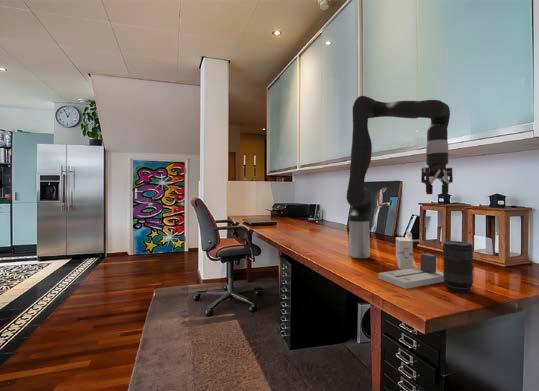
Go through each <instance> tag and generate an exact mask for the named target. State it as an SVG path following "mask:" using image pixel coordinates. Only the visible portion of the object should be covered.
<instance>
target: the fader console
mask: <svg viewBox="0 0 539 391" xmlns="http://www.w3.org/2000/svg"><path fill="white" fill-rule="evenodd" d="M378 279H379V280H381V281H384V282H387V283H389V284H392V285H394V286H397V287H399V288H401V289H412V288H418V287H423V286H428V285H434V284H439V283H444V277H443V271H442V272H441V271H439V270H436V272H434V273H428V272H425V271H421V266H419V267H413V268H410V269H403V270H402V269H397V270H392V271H391V270H389V271H383V272H378Z"/></svg>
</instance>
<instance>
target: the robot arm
mask: <svg viewBox="0 0 539 391" xmlns="http://www.w3.org/2000/svg"><path fill="white" fill-rule="evenodd" d="M450 110H451V109H450V107H449V105H448V104H447V103H446V102H444V101H441V100H439V99H425V100H398V101H393V102H386V101H385V102H384V101H379V100H376V99H373V98H371V97H369V96H366V95H360V96H358V97H357V98H356V99H355V100H354V102H353V104H352V135H351V136H352V137H351V138H352V139H351V140H352V141H351V149H350V150H351V152H350V167H349V170H350V171H349V179H348V186H347V191H346V201H347V203H348V205H349V206H350V207H352V210H351V213H350V214H349V215H348V217H349V219H348V221H349V222H348V224H349V225H348V226H349V228H348V229H349V231H348V232H349V235H348V240H347V242H348V252H347V253H348V256H349V257H350V258H353V259H354V258H356V259H368V258H370V257H371V256H370V248H371V247H370V216H371V214H372V195H371V194H372V193H371V192H370V191H369V189H368V188H366V187H365V179H366V175H367V172H368V170H369V168H370V165H371V160H372V153H373V146H372V145H373V143H372V139H371V136H370V133H369V125H368V124H369V122H368V121H369V119H374V118H381V117H382V118H385V117H386V118H387V117H389V118H398V119H399V118H400V119H419V118H422V119H430V125H429V127H428V128H427V130H426V131H427V132H426V148H425V153H426V155H425V158H426V161H425V162H426V167H421V176H420V177H421V181H420V182H421V184H424V185H425V192H426V193H425V194H426V195H433V183H434V181H435V180H438V181H440V182H441V194H442V195H448V194H449V185H450V184H451V183H453V182H454V181H453V178H454V177H453V167H447V165H448V164H449V142H448V139H449V138H448V136H449V135H448V133H449V132H448V127H449V123H450V118H451V117H450V115H451V111H450Z"/></svg>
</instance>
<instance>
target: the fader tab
mask: <svg viewBox="0 0 539 391" xmlns="http://www.w3.org/2000/svg"><path fill="white" fill-rule="evenodd" d="M420 267H421V271H425V272H428V273H434V272H436V271H437V255H436V254H432V253H431V254H430V253H427V252H426V253H420Z"/></svg>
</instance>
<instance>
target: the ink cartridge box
mask: <svg viewBox="0 0 539 391" xmlns="http://www.w3.org/2000/svg"><path fill="white" fill-rule="evenodd" d="M413 245H414V243H413V234H412V232H410V231H408V230H406V237H395V265H396V267H398V268H399V270H403V269H410V268H414V262H413V261H414V260H413V258H414V257H413V256H414V255H413V254H414V253H413V252H414V249H413V247H414V246H413Z"/></svg>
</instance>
